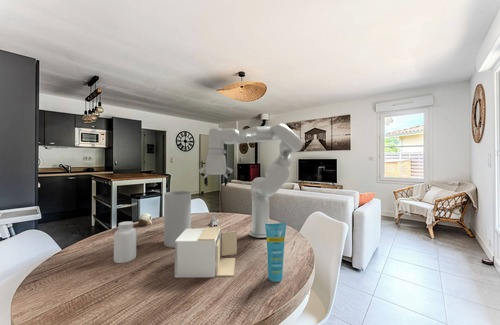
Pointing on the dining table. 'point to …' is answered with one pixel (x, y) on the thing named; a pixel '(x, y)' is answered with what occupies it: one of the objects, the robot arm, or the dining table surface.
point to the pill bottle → (125, 242)
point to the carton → (201, 254)
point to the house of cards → (213, 221)
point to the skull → (144, 220)
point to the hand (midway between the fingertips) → (216, 185)
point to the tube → (275, 250)
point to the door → (228, 243)
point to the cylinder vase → (176, 215)
